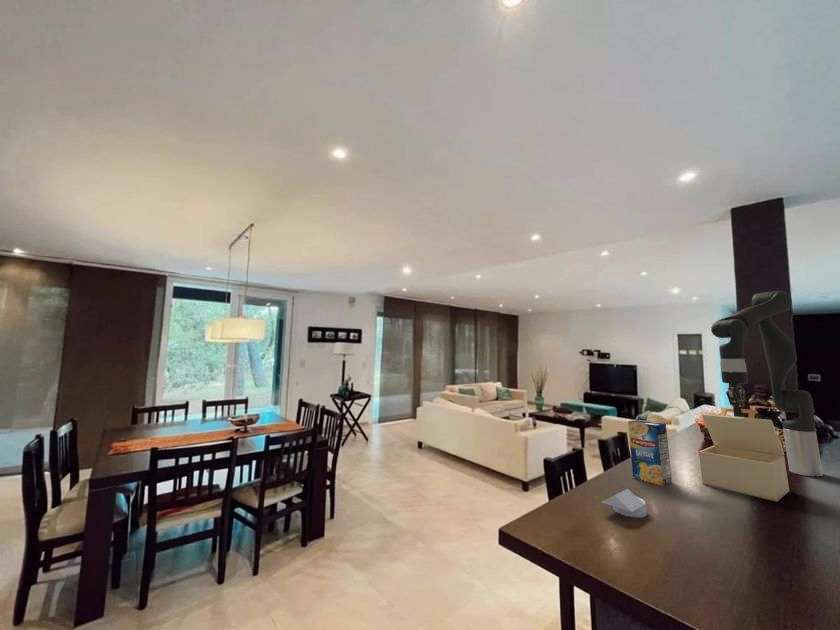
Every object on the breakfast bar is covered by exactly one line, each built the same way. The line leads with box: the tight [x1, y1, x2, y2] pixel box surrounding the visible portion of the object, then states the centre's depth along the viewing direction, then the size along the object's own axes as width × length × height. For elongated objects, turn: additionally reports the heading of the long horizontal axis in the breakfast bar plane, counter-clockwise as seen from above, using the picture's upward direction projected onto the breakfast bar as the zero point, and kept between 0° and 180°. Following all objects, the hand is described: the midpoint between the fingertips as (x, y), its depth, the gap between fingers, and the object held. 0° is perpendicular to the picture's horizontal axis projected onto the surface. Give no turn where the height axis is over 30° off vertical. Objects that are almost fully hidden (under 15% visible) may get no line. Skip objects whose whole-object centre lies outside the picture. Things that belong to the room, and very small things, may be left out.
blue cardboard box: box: [627, 419, 673, 487], centre depth 138 cm, size 7×11×22 cm, turn 30°
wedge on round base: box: [601, 488, 647, 518], centre depth 108 cm, size 9×7×13 cm
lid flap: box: [701, 406, 785, 457], centre depth 133 cm, size 16×20×6 cm
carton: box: [698, 444, 790, 503], centre depth 128 cm, size 16×20×12 cm
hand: (739, 416), depth 133 cm, fingers closed
